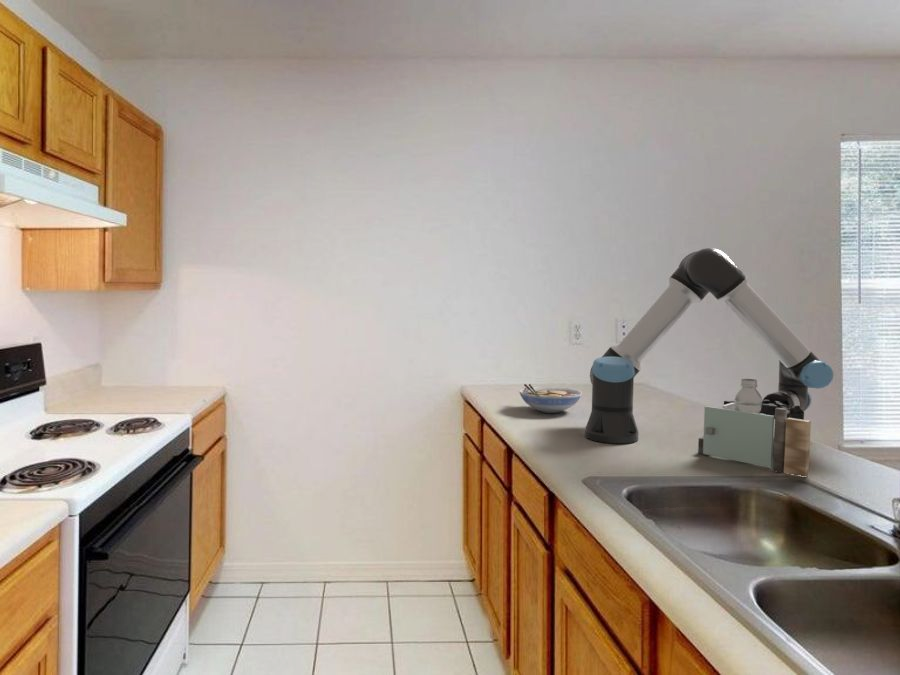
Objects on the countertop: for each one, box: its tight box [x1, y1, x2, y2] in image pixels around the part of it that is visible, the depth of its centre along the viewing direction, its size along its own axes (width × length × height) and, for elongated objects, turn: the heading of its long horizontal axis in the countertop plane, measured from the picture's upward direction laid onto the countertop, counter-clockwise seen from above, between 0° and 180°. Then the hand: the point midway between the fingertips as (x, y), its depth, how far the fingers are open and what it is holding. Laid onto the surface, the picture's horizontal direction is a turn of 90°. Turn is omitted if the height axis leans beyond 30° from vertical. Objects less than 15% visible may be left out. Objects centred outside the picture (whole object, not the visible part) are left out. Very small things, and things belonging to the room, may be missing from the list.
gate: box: [702, 405, 775, 469], centre depth 143 cm, size 16×3×12 cm, turn 41°
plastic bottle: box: [734, 378, 763, 414], centre depth 150 cm, size 6×7×20 cm
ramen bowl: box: [518, 383, 583, 414], centre depth 208 cm, size 25×23×8 cm
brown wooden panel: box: [697, 408, 812, 477], centre depth 142 cm, size 26×5×15 cm, turn 41°
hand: (750, 414), depth 150 cm, fingers open, 13 cm apart
